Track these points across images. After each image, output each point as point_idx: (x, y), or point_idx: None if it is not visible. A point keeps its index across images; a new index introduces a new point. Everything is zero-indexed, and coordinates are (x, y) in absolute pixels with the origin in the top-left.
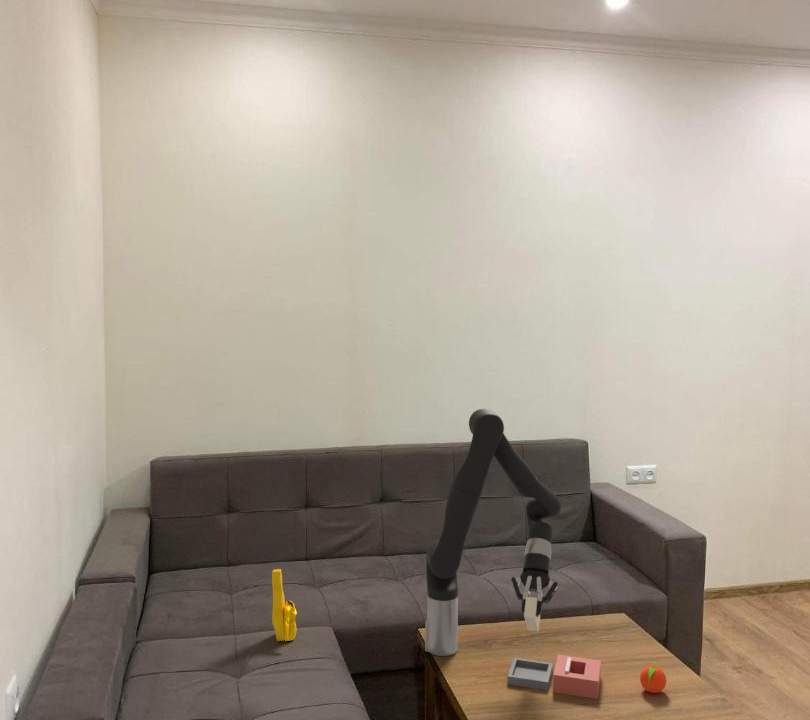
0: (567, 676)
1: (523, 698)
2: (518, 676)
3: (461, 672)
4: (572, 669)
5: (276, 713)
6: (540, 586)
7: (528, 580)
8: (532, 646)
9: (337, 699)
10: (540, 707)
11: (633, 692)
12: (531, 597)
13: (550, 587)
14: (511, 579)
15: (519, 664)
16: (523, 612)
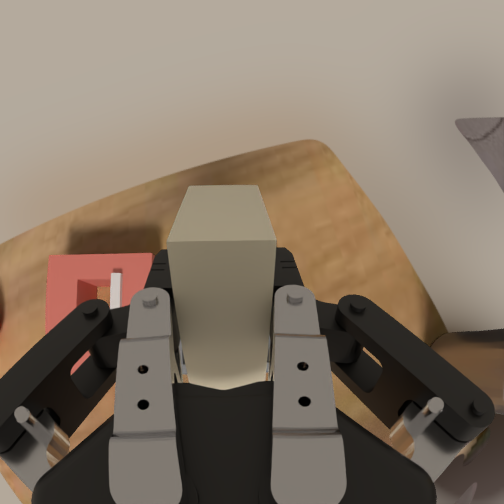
0: (115, 255)
1: None
2: None
3: (390, 283)
4: None
5: (497, 117)
6: (127, 388)
7: (316, 438)
8: None
9: (483, 147)
10: (185, 191)
11: (15, 313)
12: (221, 238)
13: (44, 419)
14: (488, 399)
15: (267, 361)
16: None
